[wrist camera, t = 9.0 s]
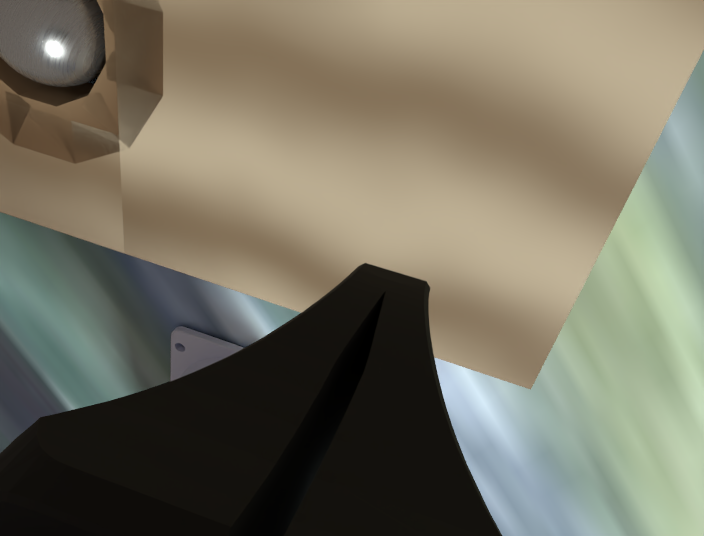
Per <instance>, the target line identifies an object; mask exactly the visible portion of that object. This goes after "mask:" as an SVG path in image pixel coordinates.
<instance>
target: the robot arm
mask: <svg viewBox="0 0 704 536" xmlns="http://www.w3.org/2000/svg"><path fill="white" fill-rule="evenodd" d="M429 292H430V286H429V285H428V283H427V281H424V280H421V279H417V278H414V277H411V276H408V275H404V274H401V273H398V272H394V271H391V270H388V269H384V268H381V267H378V266H374V265H371V264H368V263H364V264H362V265H360V266H358V267H357V268H356V269H355V270H354V271H353V272H352V273H351V274H350V275H348V276H347V277H346V278H345V279H344V280H343V281H342V282H341V283H339V284H338V285H337V286H336V287H335V288H333V289H332V290H331V291H330V292H328V293H327V294H326V295H325V296H323V297H322V298H321V299H319V300H318V301H317V302H315V303H314V304H313V305H311V306H310V307H309V308H307V309H306V310H305V311H303V312H302V313H300V314H299V315H297V316H296V317H294V318H293V319H291V320H290V321H288V322H287V323H285V324H284V325H282V326H281V327H279V328H277V329H276V330H274V331H273V332H271V333H270V334H268V335H266V336H265V337H263V338H261V339H260V340H258V341H256V342H254V343H253V344H251V345H249V346H247V347H245V348H244V347H241V346H238V345H235V344H232V343H229V342H226V341H223V340H221V339H218V338H215V337H212V336H209V335H206V334H203V333H200V332H197V331H195V330H192V329H189V328H186V327H182V326H179V327H176V328H175V329H174V331H173V332H172V333H171V375H170V382H167V383H164V384H161V385H158V386H156V387H153V388H150V389H147V390H144V391H141V392H138V393H134V394H131V395H128V396H125V397H121V398H118V399H114V400H111V401H107V402H103V403H99V404H95V405H91V406H87V407H83V408H79V409H75V410H71V411H67V412H62V413H58V414H54V415H49V416H45V417H40V418H39V419H38V420H37V421H36V422H35V423H34V424H33V425H31V426H30V427H29V428H28V429H27V430H26V431H24V432H23V433H22V434H21V435H20V436H18V437H17V438H16V439H15V440H14V441H13V442H12V443H11V444H10V445H9V446H8V447H7V448H6V449H5V450H3V451H2V452H1V453H0V536H502V534H501V533H500V531H499V529H498V527H497V525H496V523H495V522H494V520H493V518H492V516H491V514H490V512H489V510H488V508H487V506H486V504H485V502H484V500H483V498H482V496H481V493H480V491H479V489H478V487H477V485H476V483H475V481H474V479H473V476H472V474H471V472H470V470H469V468H468V466H467V464H466V461H465V459H464V456H463V454H462V451H461V448H460V446H459V443H458V441H457V438H456V435H455V433H454V430H453V427H452V424H451V421H450V418H449V415H448V412H447V409H446V405H445V402H444V398H443V395H442V391H441V387H440V383H439V379H438V374H437V370H436V365H435V360H434V354H433V348H432V341H431V335H430V325H429ZM180 343H181V344H182V345H181V344H180Z"/></svg>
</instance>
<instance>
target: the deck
mask: <svg viewBox="0 0 704 536" xmlns="http://www.w3.org/2000/svg"><path fill="white" fill-rule="evenodd" d="M97 2H98V4H99V6H100V8H101V11H102V13H103V17H104V36H105V54H106V64H105V66H104V68H103V69H102V71H101V73H100V75H99V77H98V79H97V80H96V82H95V84H91V83H88V82H86V83H83V84H80V85H76V86H69V87H56V86H50V85H45V84H41V83H38V82H35V81H33V80H31V79H29V78H27V77H25V76H23V75H21V74H20V73H18V72H17V71H15V70H14V69H13V68H12V67H10V66H9V65H8V64H7V63H6V62H5V61H4V60H3V59H2V58H1V57H0V212H2V213H5V214H8V215H11V216H14V217H17V218H20V219H23V220H26V221H29V222H32V223H35V224H38V225H41V226H44V227H47V228H50V229H53V230H56V231H59V232H62V233H65V234H68V235H71V236H74V237H77V238H80V239H83V240H86V241H89V242H92V243H95V244H98V245H101V246H104V247H107V248H110V249H113V250H116V251H119V252H122V253H125V254H128V255H131V256H134V257H137V258H140V259H143V260H146V261H149V262H152V263H155V264H158V265H161V266H164V267H166V268H169V269H172V270H175V271H178V272H181V273H184V274H187V275H190V276H193V277H196V278H199V279H202V280H205V281H208V282H211V283H214V284H217V285H220V286H223V287H226V288H229V289H232V290H235V291H238V292H241V293H244V294H247V295H250V296H253V297H256V298H259V299H262V300H265V301H268V302H271V303H274V304H277V305H280V306H283V307H286V308H289V309H292V310H295V311H298V312H301V313H302V312H303V311H305V310H306V309H307V308H309V307H310V306H311V305H313V304H314V303H315V302H317V301H318V300H319V299H321V298H322V297H323V296H325V295H326V294H327V293H328V292H330V291H331V290H332V289H333V288H335V287H336V286H337V285H338V284H339V283H341V282H342V281H343V280H344V279H345V278H346V277H347V276H348V275H350V274H351V273H352V272H353V271H354V270H355V269H356V268H357V267H358V266H360V265H362V264H364V263H368V264H371V265H374V266H378V267H381V268H384V269H388V270H391V271H394V272H398V273H401V274H404V275H408V276H411V277H414V278H417V279H421V280H424V281H427V283H428V285H429V286H430V292H429V325H430V335H431V341H432V348H433V354H434V357H435V358H438V359H441V360H444V361H447V362H450V363H453V364H456V365H459V366H462V367H465V368H468V369H471V370H474V371H477V372H480V373H483V374H486V375H489V376H492V377H495V378H498V379H501V380H504V381H507V382H510V383H513V384H516V385H519V386H522V387H525V388H528V389H531V388H532V386H533V384H534V382H535V380H536V378H537V376H538V374H539V372H540V370H541V368H542V366H543V364H544V362H545V360H546V358H547V356H548V354H549V352H550V350H551V348H552V347H553V345H554V343H555V341H556V339H557V337H558V335H559V333H560V331H561V329H562V327H563V325H564V323H565V321H566V319H567V317H568V315H569V313H570V311H571V309H572V307H573V305H574V303H575V301H576V299H577V297H578V295H579V293H580V291H581V290H582V288H583V286H584V284H585V282H586V280H587V278H588V276H589V274H590V272H591V270H592V268H593V266H594V264H595V262H596V260H597V258H598V256H599V254H600V252H601V250H602V248H603V246H604V244H605V242H606V240H607V238H608V236H609V235H610V233H611V231H612V229H613V227H614V225H615V223H616V221H617V219H618V217H619V215H620V213H621V211H622V209H623V207H624V205H625V203H626V201H627V199H628V197H629V195H630V193H631V191H632V189H633V187H634V185H635V183H636V181H637V180H638V178H639V176H640V174H641V172H642V170H643V168H644V166H645V164H646V162H647V160H648V158H649V156H650V154H651V152H652V150H653V148H654V146H655V144H656V142H657V140H658V138H659V136H660V134H661V132H662V130H663V128H664V126H665V125H666V123H667V121H668V119H669V117H670V115H671V113H672V111H673V109H674V107H675V105H676V103H677V101H678V99H679V97H680V95H681V93H682V91H683V89H684V87H685V85H686V83H687V81H688V79H689V77H690V75H691V73H692V71H693V69H694V68H695V66H696V64H697V62H698V60H699V58H700V56H701V54H702V52H703V50H704V0H97Z"/></svg>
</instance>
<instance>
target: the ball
mask: <svg viewBox="0 0 704 536" xmlns="http://www.w3.org/2000/svg"><path fill="white" fill-rule="evenodd" d="M0 57H1V58H2V59H3V60H4V61H5V62H6V63H7V64H8V65H9V66H10V67H12V68H13V69H14V70H15V71H17V72H18V73H20V74H21V75H23V76H25V77H27V78H29V79H31V80H33V81H35V82H38V83H41V84H45V85H50V86H56V87H69V86H76V85H80V84H83V83H86V82H89V81H91V80H93V79H94V78H96V77H98V76H99V75H100V73H101V71H102V69H103V68H104V66H105V64H106V54H105V36H104V17H103V13H102V11H101V8H100V6H99V4H98V2H97V0H0Z"/></svg>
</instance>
